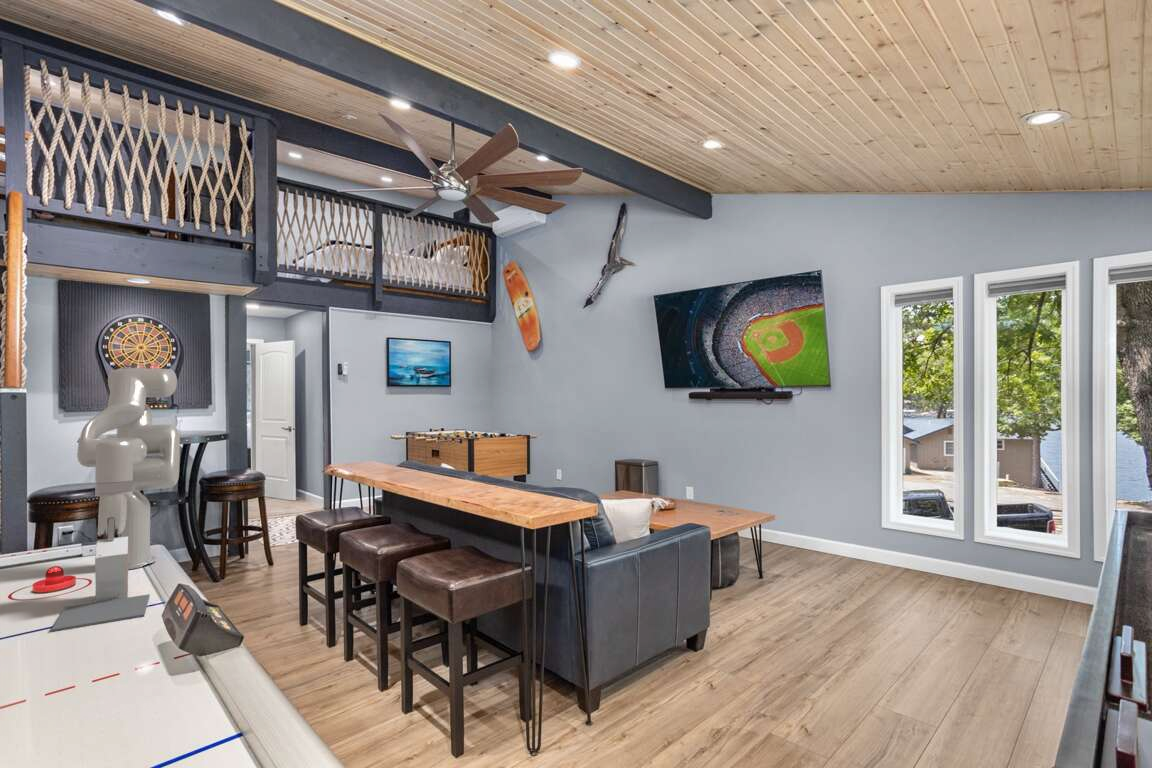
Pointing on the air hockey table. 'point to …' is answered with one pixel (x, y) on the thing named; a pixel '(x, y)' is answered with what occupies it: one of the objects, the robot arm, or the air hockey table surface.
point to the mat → (101, 612)
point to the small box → (111, 569)
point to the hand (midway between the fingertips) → (113, 560)
